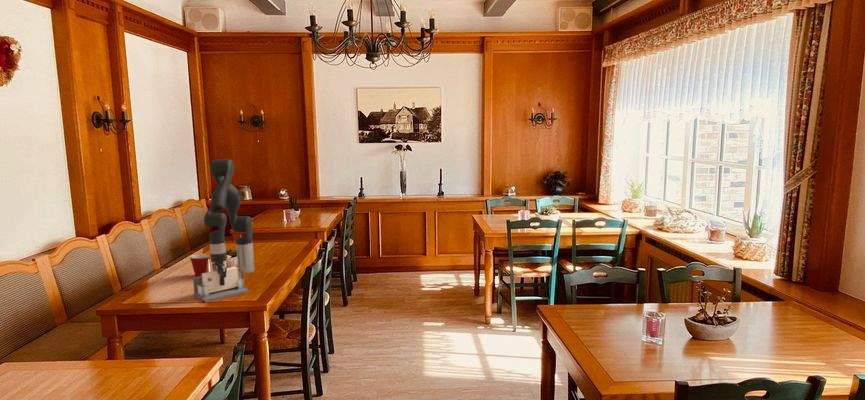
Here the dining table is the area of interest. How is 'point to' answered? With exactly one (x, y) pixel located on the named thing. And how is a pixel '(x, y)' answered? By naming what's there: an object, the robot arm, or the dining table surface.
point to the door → (214, 281)
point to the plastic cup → (199, 264)
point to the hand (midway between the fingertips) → (221, 284)
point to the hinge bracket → (208, 297)
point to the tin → (240, 272)
